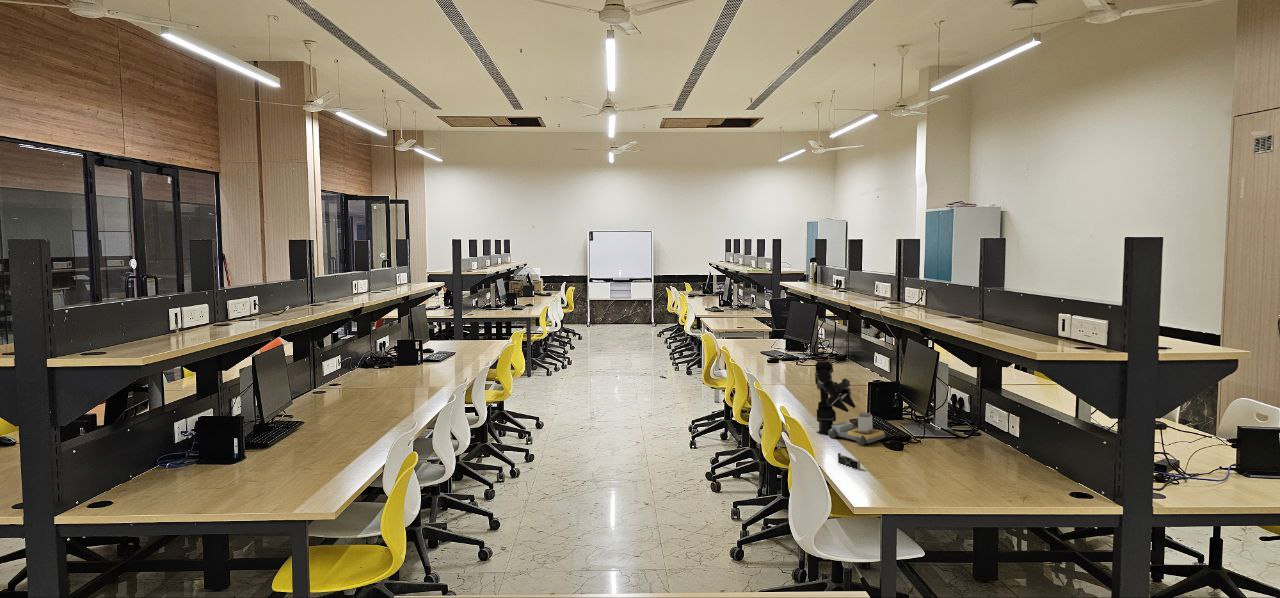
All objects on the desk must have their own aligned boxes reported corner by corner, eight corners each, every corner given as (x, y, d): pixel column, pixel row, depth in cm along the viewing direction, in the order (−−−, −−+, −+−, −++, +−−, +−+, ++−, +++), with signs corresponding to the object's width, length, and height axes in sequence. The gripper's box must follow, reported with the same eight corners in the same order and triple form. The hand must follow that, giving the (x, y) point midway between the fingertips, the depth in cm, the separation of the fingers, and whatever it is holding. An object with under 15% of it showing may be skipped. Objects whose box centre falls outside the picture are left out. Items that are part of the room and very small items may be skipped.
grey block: (858, 435, 327) (857, 414, 326) (862, 432, 331) (861, 411, 330) (869, 436, 324) (868, 415, 323) (872, 433, 328) (871, 412, 327)
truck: (826, 437, 338) (826, 426, 337) (848, 431, 346) (847, 420, 345) (865, 446, 318) (864, 434, 318) (887, 440, 326) (886, 428, 326)
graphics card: (837, 464, 297) (834, 454, 296) (842, 462, 298) (839, 451, 297) (858, 471, 287) (855, 460, 286) (862, 468, 288) (859, 457, 287)
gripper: (832, 377, 328) (856, 402, 322) (846, 370, 343) (869, 394, 337) (816, 393, 333) (840, 417, 327) (831, 385, 348) (854, 409, 342)
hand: (851, 409), depth 333 cm, fingers open, 9 cm apart
